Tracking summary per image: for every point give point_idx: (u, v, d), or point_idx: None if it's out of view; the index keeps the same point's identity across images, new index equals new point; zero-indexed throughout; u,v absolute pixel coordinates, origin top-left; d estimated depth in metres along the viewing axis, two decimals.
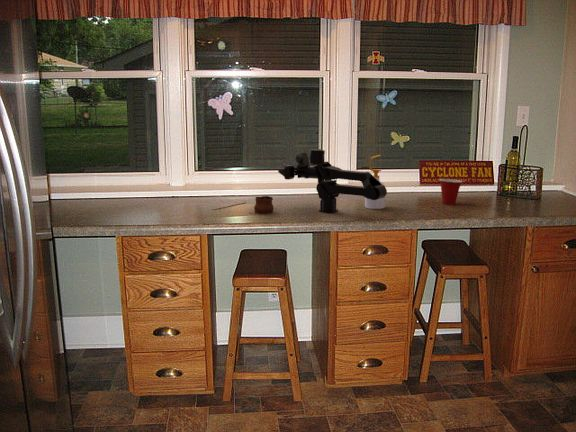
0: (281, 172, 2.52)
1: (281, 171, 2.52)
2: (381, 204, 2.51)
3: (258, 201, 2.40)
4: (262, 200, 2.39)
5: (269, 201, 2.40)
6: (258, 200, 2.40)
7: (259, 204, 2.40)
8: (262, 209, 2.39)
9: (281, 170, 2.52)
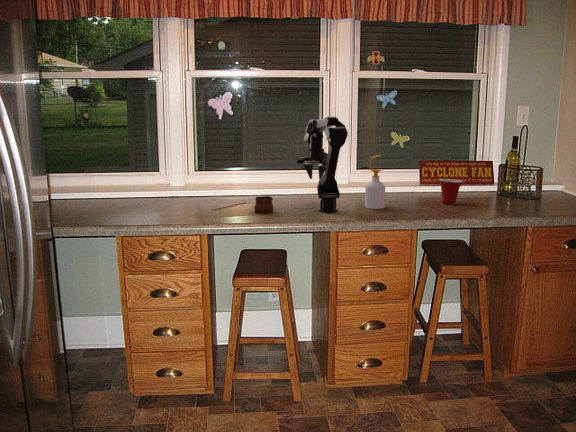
0: None
1: None
2: (381, 204, 2.51)
3: (258, 201, 2.40)
4: (262, 200, 2.39)
5: (269, 201, 2.40)
6: (258, 200, 2.40)
7: (259, 204, 2.40)
8: (261, 209, 2.39)
9: None
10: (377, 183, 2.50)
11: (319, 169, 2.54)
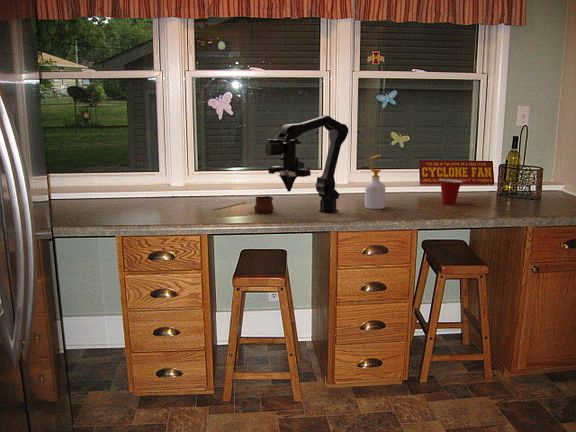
0: None
1: None
2: (381, 204, 2.51)
3: (257, 201, 2.41)
4: (261, 200, 2.39)
5: (268, 201, 2.40)
6: (257, 200, 2.40)
7: (258, 204, 2.40)
8: (261, 209, 2.39)
9: None
10: (377, 183, 2.50)
11: (287, 179, 2.30)
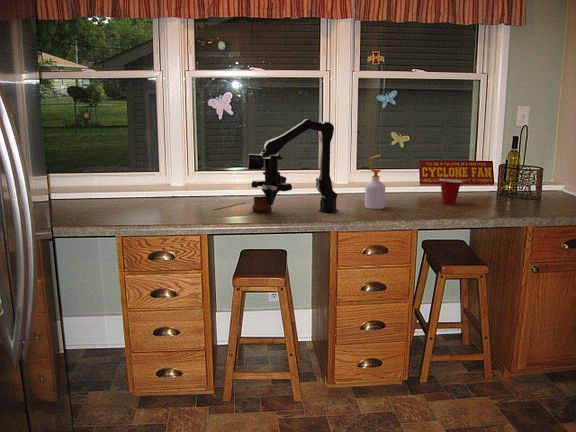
0: None
1: None
2: (381, 204, 2.51)
3: (255, 201, 2.42)
4: (259, 200, 2.40)
5: (266, 201, 2.41)
6: (255, 200, 2.41)
7: (256, 204, 2.41)
8: (259, 209, 2.40)
9: None
10: (377, 183, 2.50)
11: (269, 193, 2.37)
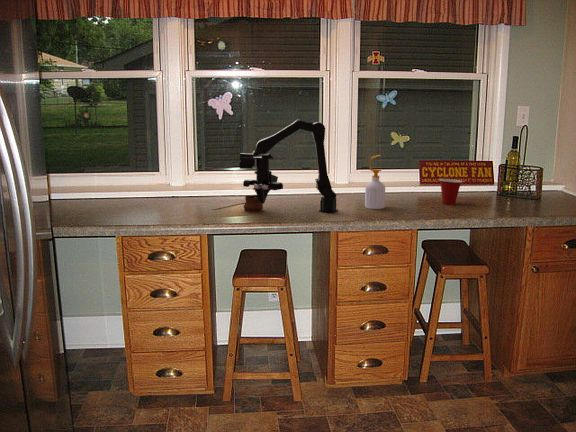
0: None
1: None
2: (381, 204, 2.51)
3: (247, 200, 2.44)
4: (250, 199, 2.43)
5: (257, 200, 2.43)
6: (247, 199, 2.44)
7: (248, 203, 2.44)
8: (250, 207, 2.43)
9: None
10: (377, 183, 2.50)
11: (261, 192, 2.40)
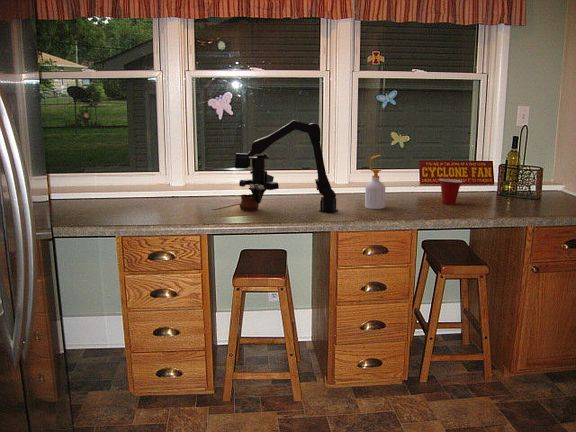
0: None
1: None
2: (381, 204, 2.51)
3: (243, 199, 2.46)
4: (246, 198, 2.45)
5: (253, 199, 2.45)
6: (243, 198, 2.46)
7: (243, 202, 2.46)
8: (246, 206, 2.45)
9: None
10: (377, 183, 2.50)
11: (257, 192, 2.41)
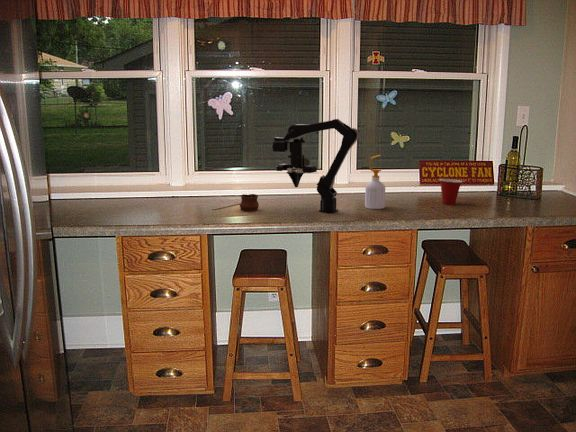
0: None
1: None
2: (381, 204, 2.51)
3: (242, 199, 2.46)
4: (246, 198, 2.45)
5: (253, 199, 2.45)
6: (242, 198, 2.46)
7: (243, 201, 2.46)
8: (245, 206, 2.45)
9: None
10: (377, 183, 2.50)
11: (295, 176, 2.44)
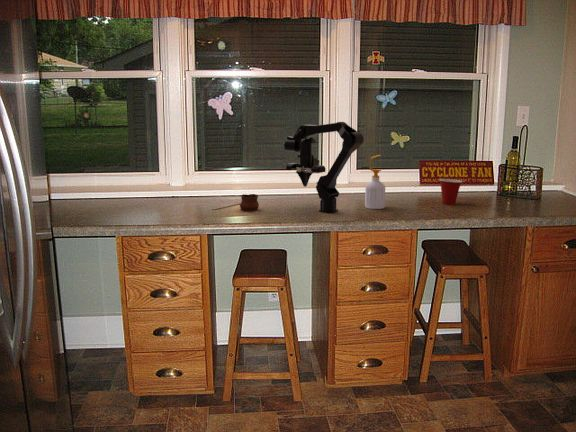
0: None
1: None
2: (381, 204, 2.51)
3: (243, 198, 2.46)
4: (246, 198, 2.45)
5: (253, 199, 2.45)
6: (242, 197, 2.46)
7: (243, 201, 2.46)
8: (245, 206, 2.45)
9: None
10: (377, 183, 2.50)
11: (304, 175, 2.48)
